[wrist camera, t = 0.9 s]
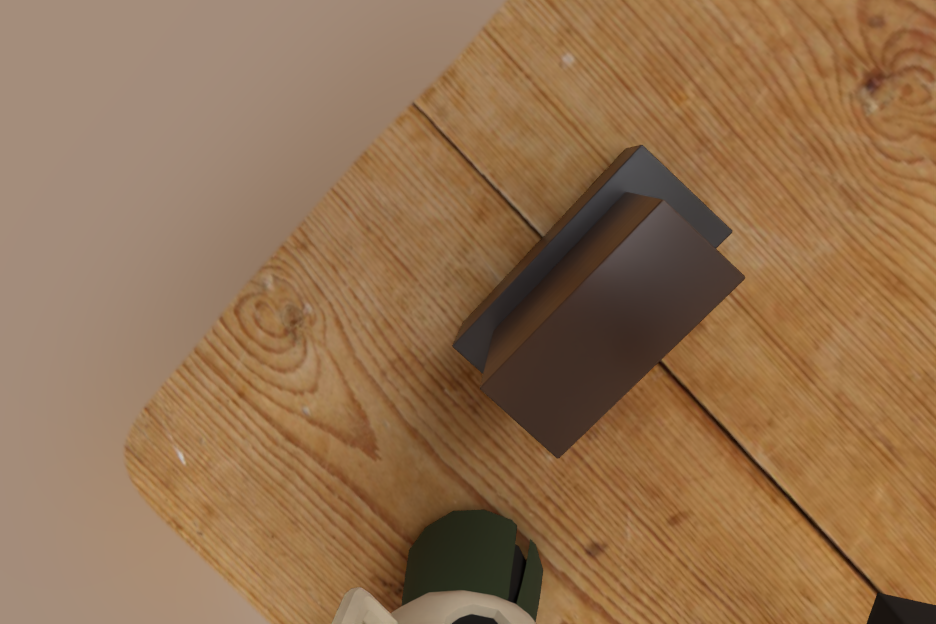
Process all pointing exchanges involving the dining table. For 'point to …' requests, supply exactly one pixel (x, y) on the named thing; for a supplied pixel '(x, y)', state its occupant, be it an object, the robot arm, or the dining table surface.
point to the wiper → (599, 300)
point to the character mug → (459, 577)
